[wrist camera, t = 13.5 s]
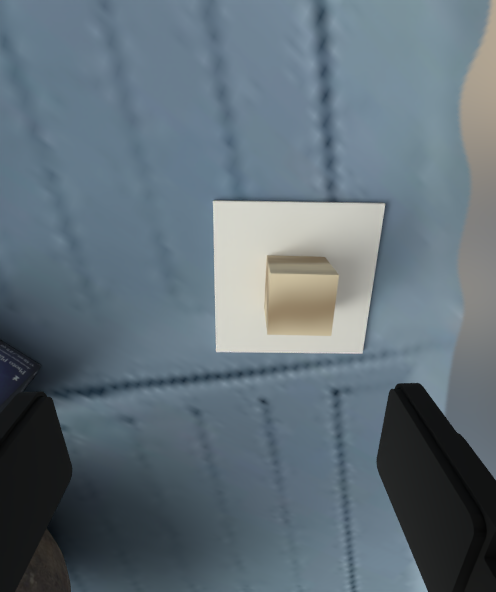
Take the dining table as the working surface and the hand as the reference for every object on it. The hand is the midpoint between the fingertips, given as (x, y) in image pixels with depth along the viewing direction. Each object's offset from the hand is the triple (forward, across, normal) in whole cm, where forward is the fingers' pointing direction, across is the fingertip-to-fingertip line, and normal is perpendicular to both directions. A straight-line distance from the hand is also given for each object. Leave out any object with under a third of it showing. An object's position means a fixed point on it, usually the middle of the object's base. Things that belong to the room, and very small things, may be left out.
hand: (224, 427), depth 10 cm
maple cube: (+22, -5, +4) cm, 23 cm away
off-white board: (+22, -5, +4) cm, 23 cm away
